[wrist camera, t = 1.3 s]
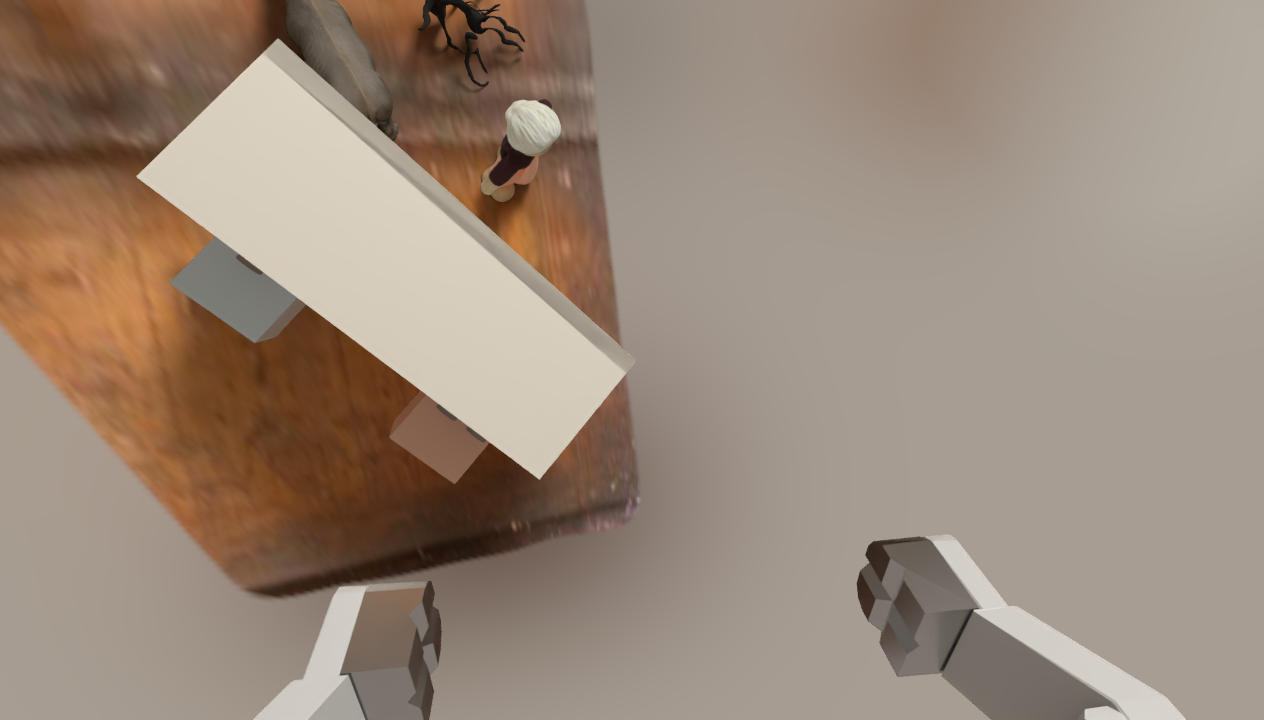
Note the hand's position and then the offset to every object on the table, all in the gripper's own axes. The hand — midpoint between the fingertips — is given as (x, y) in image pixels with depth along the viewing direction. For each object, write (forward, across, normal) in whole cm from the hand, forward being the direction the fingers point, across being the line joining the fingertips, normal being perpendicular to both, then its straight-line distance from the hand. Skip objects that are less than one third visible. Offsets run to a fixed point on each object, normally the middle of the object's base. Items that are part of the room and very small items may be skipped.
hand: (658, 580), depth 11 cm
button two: (+29, +9, +15) cm, 33 cm away
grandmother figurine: (+41, +5, +2) cm, 42 cm away
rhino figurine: (+42, +17, -6) cm, 46 cm away
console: (+36, +12, +9) cm, 39 cm away
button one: (+31, +19, +5) cm, 36 cm away
